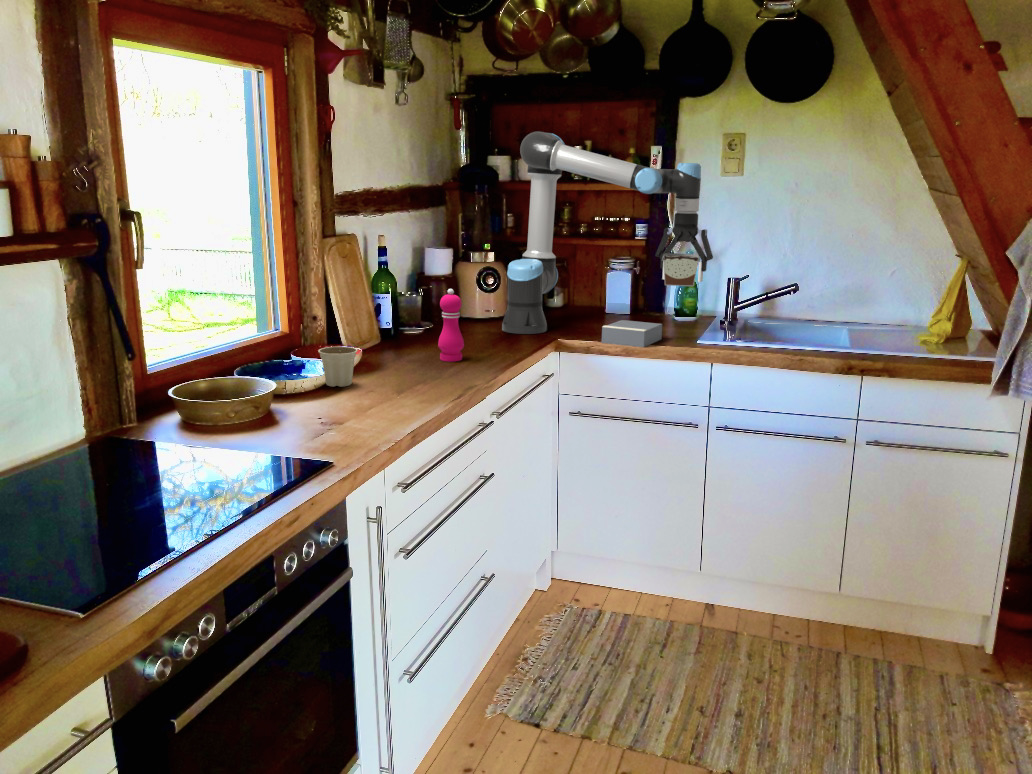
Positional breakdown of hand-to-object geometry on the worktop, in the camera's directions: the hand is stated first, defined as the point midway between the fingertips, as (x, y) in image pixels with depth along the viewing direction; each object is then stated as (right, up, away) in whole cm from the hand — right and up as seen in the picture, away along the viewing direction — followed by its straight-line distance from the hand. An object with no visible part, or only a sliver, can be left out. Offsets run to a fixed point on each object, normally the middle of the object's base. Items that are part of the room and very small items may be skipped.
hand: (682, 280), depth 273 cm
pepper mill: (-73, -27, -38) cm, 87 cm away
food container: (-1, -2, +1) cm, 2 cm away
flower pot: (-98, -35, -68) cm, 124 cm away
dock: (-18, -20, -8) cm, 28 cm away
